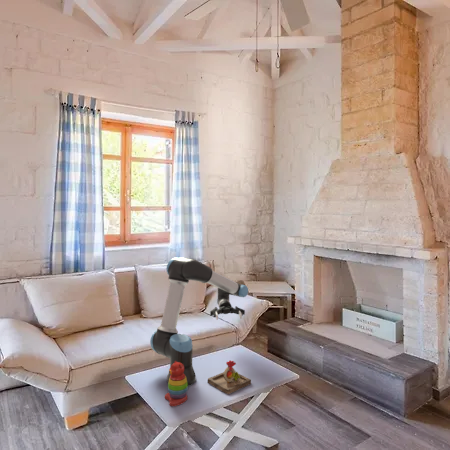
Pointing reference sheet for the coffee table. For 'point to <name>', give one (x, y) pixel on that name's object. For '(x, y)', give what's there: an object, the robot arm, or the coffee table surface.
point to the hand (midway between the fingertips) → (229, 316)
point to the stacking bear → (177, 385)
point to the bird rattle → (230, 372)
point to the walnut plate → (229, 387)
